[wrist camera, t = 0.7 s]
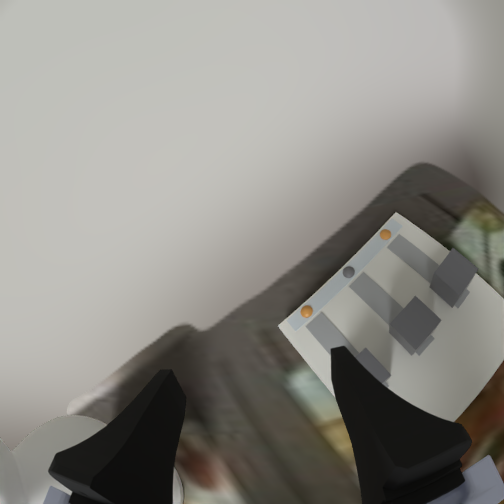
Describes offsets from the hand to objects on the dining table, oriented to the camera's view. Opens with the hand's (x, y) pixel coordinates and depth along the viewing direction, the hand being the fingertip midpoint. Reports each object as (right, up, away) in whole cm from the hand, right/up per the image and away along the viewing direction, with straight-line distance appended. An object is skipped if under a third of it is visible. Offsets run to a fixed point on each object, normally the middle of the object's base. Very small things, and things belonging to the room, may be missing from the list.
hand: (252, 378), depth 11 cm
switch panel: (+14, -2, +10) cm, 18 cm away
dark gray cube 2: (+13, -1, +8) cm, 16 cm away
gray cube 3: (+17, +3, +8) cm, 19 cm away
